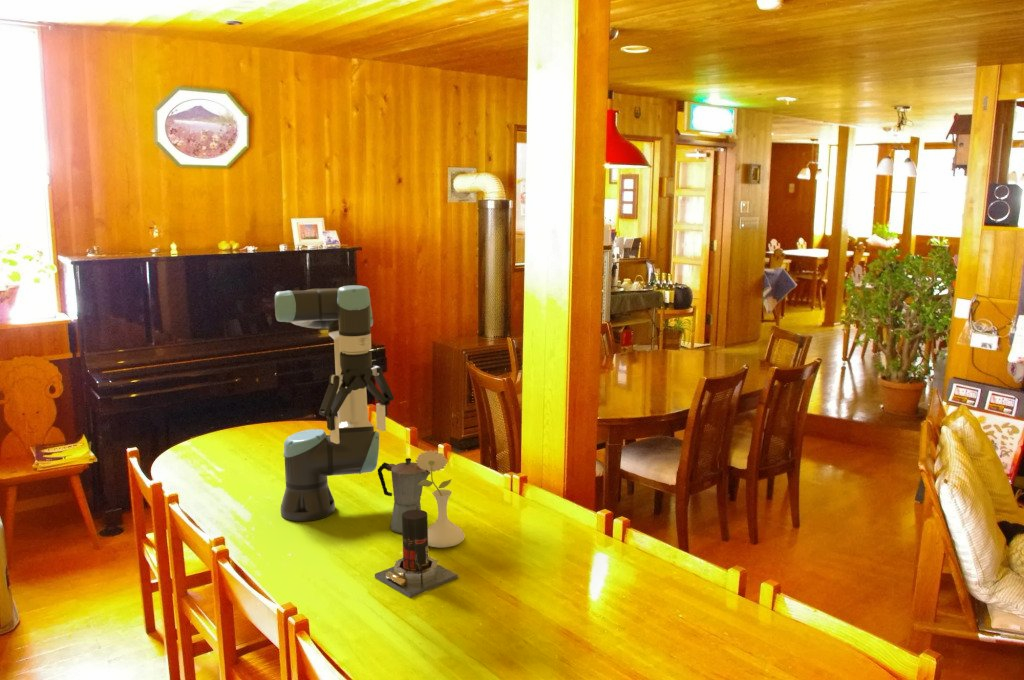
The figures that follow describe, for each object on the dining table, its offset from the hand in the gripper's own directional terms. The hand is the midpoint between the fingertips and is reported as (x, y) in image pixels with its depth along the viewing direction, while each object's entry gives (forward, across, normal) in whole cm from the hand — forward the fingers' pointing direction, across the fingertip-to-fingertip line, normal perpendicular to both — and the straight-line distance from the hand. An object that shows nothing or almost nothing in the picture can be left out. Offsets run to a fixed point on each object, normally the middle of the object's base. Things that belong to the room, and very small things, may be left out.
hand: (358, 436), depth 202 cm
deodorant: (+31, +2, -18) cm, 36 cm away
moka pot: (+33, +19, +7) cm, 38 cm away
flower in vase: (+32, +20, -7) cm, 38 cm away
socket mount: (+31, +2, -18) cm, 37 cm away
